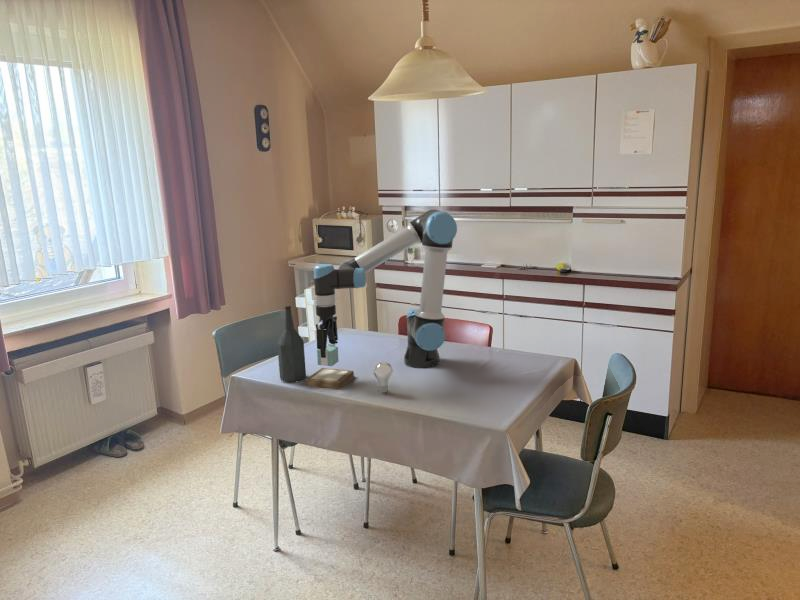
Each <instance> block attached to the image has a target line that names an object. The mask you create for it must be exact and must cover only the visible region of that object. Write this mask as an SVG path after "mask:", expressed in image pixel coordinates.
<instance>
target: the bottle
mask: <svg viewBox="0 0 800 600" xmlns="http://www.w3.org/2000/svg"><path fill="white" fill-rule="evenodd" d="M304 343H305V342H304V339H303V338H302V337H301V335H300V334H299V332H298V331H297V330H296V329H295V325H294V319H293V314H292V306H291V305H284V329H283V331H282V333H281V335H280V337H279V339H278V341H277V342H276V345H277V358H278V370H279V371H278V372H279V378H280V380H281V381H282V380H283V381H282V382H284V381H285V382H284V383H287V382H289V383H297V382H296V381H298V382H301V380H302V381H303V380H305V378H306V377H307V372H306V357H305V354H306V353H305V344H304Z"/></svg>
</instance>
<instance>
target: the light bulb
mask: <svg viewBox="0 0 800 600" xmlns="http://www.w3.org/2000/svg"><path fill="white" fill-rule="evenodd" d="M393 372H394V370H393V367H392V365H391V364H390V363H388V362H386V361H379V362H378V363H376V365H374V368H373V375H374V377H375V379H376V381H377V383H378V385H379V391H380V392H381V393H382V394H386V393H387V392H388V391H389V383H390V379H391V378H392V377H393Z"/></svg>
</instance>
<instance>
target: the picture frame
mask: <svg viewBox="0 0 800 600" xmlns="http://www.w3.org/2000/svg"><path fill="white" fill-rule="evenodd" d="M354 372H355V371H354V370H347V369H340V368H339V369H338V368H326V367H325V368H324V367H322V368H320V369H319V370H317V371H316V372H314V373H313V374H312V375H310V376H309V377H307V378H306V379H305V386H306V387H312V388H313V387H315V388H322V389H323V388H324V389H333V390H340V389H341V388H342V387H344V386H345V385H346V384H347V383H349V381H351V380H352V379H353V378H354V377H355V373H354Z"/></svg>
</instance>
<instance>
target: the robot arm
mask: <svg viewBox="0 0 800 600" xmlns="http://www.w3.org/2000/svg"><path fill="white" fill-rule="evenodd" d="M457 227H458V225H457V222H456V220H455V219H454V217H453V216H452V215H451V214H450V213H448V212H446V211H442V210H439V209H430V210H427V211H425V212H424V213H422V214H420V215H419V216H417V217H415V218H414V219H413V220H411V221H409V222H408V224H407V226H406V227H404V228H403V229H400V230H398V231H397V232H396V233H394V234H392V235H391V236H389V237H387V238H385V239H384V240H382V241H380V242H379V243H376V245H374V246H372V247H371V248H368V249H367V250H365V251H364V252H361V253H360V254H359V255H357V256H355V257H353V258H352V259H350V260H348V261H344V262H341V264H339V266H338V269H337V268H335V267H334V265H333V264H331V263H319V264H317V265H315V266H314V267H313V280H314V281H313V282H314V283H313V284H314V299H315V305H316V306H315V314H316V316H318V317H319V322H318V323H316V324H315V329H316V350H318V349H320V351H321V365H320V366H324V365H325V366H327V367H329V366H328V349H326V346H333V347H336V344H338V343H339V341H338V339H339V337H338V336H339V335H338V326H337V325H338V324H337V320H338V317H337V316H335V315H336V314H337V307H336V291H335V290H342V289H359V288H360V289H361V288H364V287H366V285H367V276H366V273H368V272H371V270H373V269H374V268H376V267H378V266H380V265H381V264H383V263H385V262H386V261H388V260H390V259H392V258H393V257H395V256H397V255H399V254H400V253H402V252H403V251H405V250H407V249H409V248H410V247H412V246H414V245H416V244H421V246H422V247H423V248H424V260H423V262H424V263H423V270H422V271H423V272H422V282H421V292H420V300H419V301H420V303H419V308H413V309H409V310H407V313H406V328H407V333H406V334H407V347H406V350H405V353H404V357H403V361H404V364H405V365H406V366H408V367H412V368H429V367H434V366H437V365H439V364H440V362H441V358H440V357H441V356H440V354H439V351H438V349H439V348H440V347H441V346H442V345H443V344H444V343H445V340H446V332H445V331H446V330H445V329H444V327H445V326H444V325H445V315H444V313H442V307H443V300H444V299H443V298H444V288H445V280H446V279H445V278H446V277H445V276H446V271H447V270H446V269H447V261H448V252H449V251H450V250H451V249H452V248H453V241H454V239H455V237H456V236H457V233H458V228H457ZM328 342H329V343H328Z"/></svg>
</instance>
